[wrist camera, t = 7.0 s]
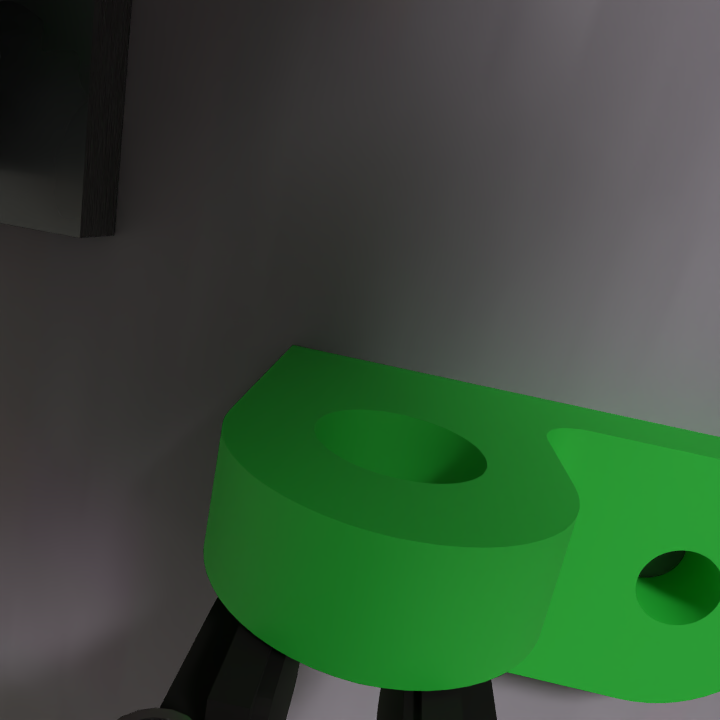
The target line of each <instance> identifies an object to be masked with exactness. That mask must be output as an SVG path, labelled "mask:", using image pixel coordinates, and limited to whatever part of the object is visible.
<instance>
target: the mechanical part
mask: <svg viewBox="0 0 720 720" xmlns="http://www.w3.org/2000/svg"><path fill="white" fill-rule="evenodd" d="M679 550H685V551H686V553H685V555H684V557H683V559H682V560H681V562H680V563H679V564H678V565H677V566H676V567H675V568H674V569H672V570H671V571H669V572H668V573H665V574H663V575H660V576H657V577H649V578H644V577H638V576H639V574H640V572H641V571H642V569H643V568H644V567H645V566H646V564H648V563H649V562H650V561H651V560H653V559H654V558H656V557H657V556H659V555H662V554H664V553H667V552H671V551H679ZM203 553H204V564H205V568H206V573H207V575H208V578H209V580H210V583H211V585H212V587H213V589H214V590H215V592H216V594H217V596H218V597H219V599H220V600H221V601H222V603H223V604H224V605H225V607H226V608H227V609H228V610H229V611H230V613H231V614H232V615H233V616H234V617H235V618H236V619H237V620H238V621H239V622H240V623H241V624H242V625H244V626H245V627H246V628H247V629H248V630H250V631H251V632H252V633H253V634H254V635H255V636H257V637H258V638H260V639H261V640H263V641H264V642H266V643H267V644H268V645H270V646H271V647H273V648H274V649H276V650H278V651H280V652H281V653H283V654H285V655H287V656H288V657H290V658H292V659H294V660H296V661H298V662H300V663H303V664H305V665H307V666H309V667H311V668H313V669H316V670H319V671H321V672H324V673H326V674H329V675H332V676H334V677H338V678H341V679H344V680H348V681H351V682H355V683H358V684H363V685H368V686H374V687H379V688H387V689H396V690H407V691H435V690H449V689H455V688H461V687H468V686H472V685H475V684H479V683H482V682H486V681H488V680H491V679H493V678H496V677H498V676H500V675H502V674H504V673H506V672H508V673H513V674H517V675H521V676H525V677H529V678H534V679H538V680H542V681H546V682H551V683H555V684H559V685H563V686H568V687H572V688H576V689H580V690H584V691H589V692H593V693H597V694H601V695H606V696H610V697H614V698H618V699H623V700H629V701H635V702H645V703H669V702H680V701H686V700H692V699H696V698H700V697H704V696H708V695H711V694H714V693H717V692H720V437H717V436H712V435H708V434H703V433H698V432H694V431H689V430H684V429H680V428H675V427H670V426H666V425H661V424H657V423H652V422H647V421H643V420H638V419H633V418H629V417H624V416H620V415H615V414H610V413H606V412H601V411H596V410H592V409H587V408H582V407H578V406H573V405H569V404H564V403H559V402H555V401H550V400H545V399H541V398H536V397H532V396H527V395H522V394H518V393H513V392H508V391H504V390H499V389H495V388H490V387H485V386H481V385H476V384H471V383H467V382H462V381H457V380H453V379H448V378H444V377H439V376H434V375H430V374H425V373H420V372H416V371H411V370H407V369H402V368H397V367H393V366H388V365H383V364H379V363H374V362H370V361H365V360H360V359H356V358H351V357H346V356H342V355H337V354H332V353H328V352H323V351H319V350H314V349H309V348H305V347H300V346H295V345H292V346H291V347H290V348H289V350H288V351H287V352H286V353H285V354H284V355H283V356H282V357H281V358H280V359H279V360H278V361H277V362H276V363H275V364H274V365H273V366H272V367H271V368H270V369H269V370H268V371H267V372H266V373H265V374H264V375H263V376H262V377H261V378H260V379H259V380H258V381H257V382H256V383H255V384H254V385H253V386H252V387H251V388H250V390H249V391H248V392H247V393H246V394H245V395H244V396H243V397H242V398H241V399H240V400H239V401H238V402H237V403H236V404H235V405H234V406H233V407H232V408H231V409H230V410H229V412H228V413H227V414H226V416H225V418H224V420H223V424H222V430H221V437H220V443H219V450H218V456H217V463H216V470H215V476H214V483H213V489H212V496H211V502H210V509H209V516H208V522H207V529H206V535H205V542H204V549H203Z"/></svg>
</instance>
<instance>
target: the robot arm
mask: <svg viewBox="0 0 720 720" xmlns="http://www.w3.org/2000/svg"><path fill="white" fill-rule="evenodd" d="M299 663H300V662H298V661H296V660H294V659H292V658H290V657H288V656H287V655H285V654H283V653H281V652H280V651H278V650H276V649H274V648H273V647H271V646H270V645H268V644H267V643H266V642H264V641H263V640H261V639H260V638H258V637H257V636H255V635H254V634H253V633H252V632H251V631H250V630H248V629H247V628H246V627H245V626H244V625H242V624H241V623H240V622H239V621H238V620H237V619H236V618H235V617H234V616H233V615H232V614H231V613H230V611H229V610H228V609H227V608H226V607H225V605H224V604H223V603H222V601H221V600H220V599H219V597H218V598H217V600H216V601H215V603H214V605H213V607H212V609H211V610H210V612H209V614H208V616H207V618H206V620H205V622H204V624H203V626H202V628H201V630H200V632H199V633H198V635H197V637H196V639H195V641H194V643H193V645H192V647H191V649H190V651H189V653H188V655H187V656H186V658H185V660H184V662H183V664H182V666H181V668H180V670H179V672H178V674H177V676H176V678H175V679H174V681H173V683H172V685H171V687H170V689H169V691H168V693H167V695H166V697H165V699H164V701H163V703H162V704H161V706H160V708H150V709H143V710H137V711H135V712H132V713H130V714H127V715H124V716H122V717H120V718H119V719H117V720H286V717H287V713H288V710H289V706H290V702H291V698H292V694H293V691H294V687H295V682H296V678H297V673H298V668H299ZM377 720H497V717H496V710H495V703H494V696H493V689H492V682H491V680H488V681H486V682H482V683H479V684H475V685H472V686H468V687H461V688H455V689H449V690H435V691H407V690H396V689H387V688H381V690H380V696H379V703H378V712H377Z"/></svg>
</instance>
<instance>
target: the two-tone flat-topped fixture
mask: <svg viewBox="0 0 720 720" xmlns="http://www.w3.org/2000/svg"><path fill="white" fill-rule="evenodd" d="M131 4H132V0H0V223H3V224H8V225H14V226H19V227H24V228H30V229H35V230H41V231H46V232H51V233H57V234H62V235H67V236H73V237H78V238H85V237H100V236H114V230H115V217H116V203H117V190H118V177H119V163H120V150H121V137H122V124H123V110H124V97H125V84H126V71H127V57H128V44H129V31H130V17H131Z"/></svg>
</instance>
